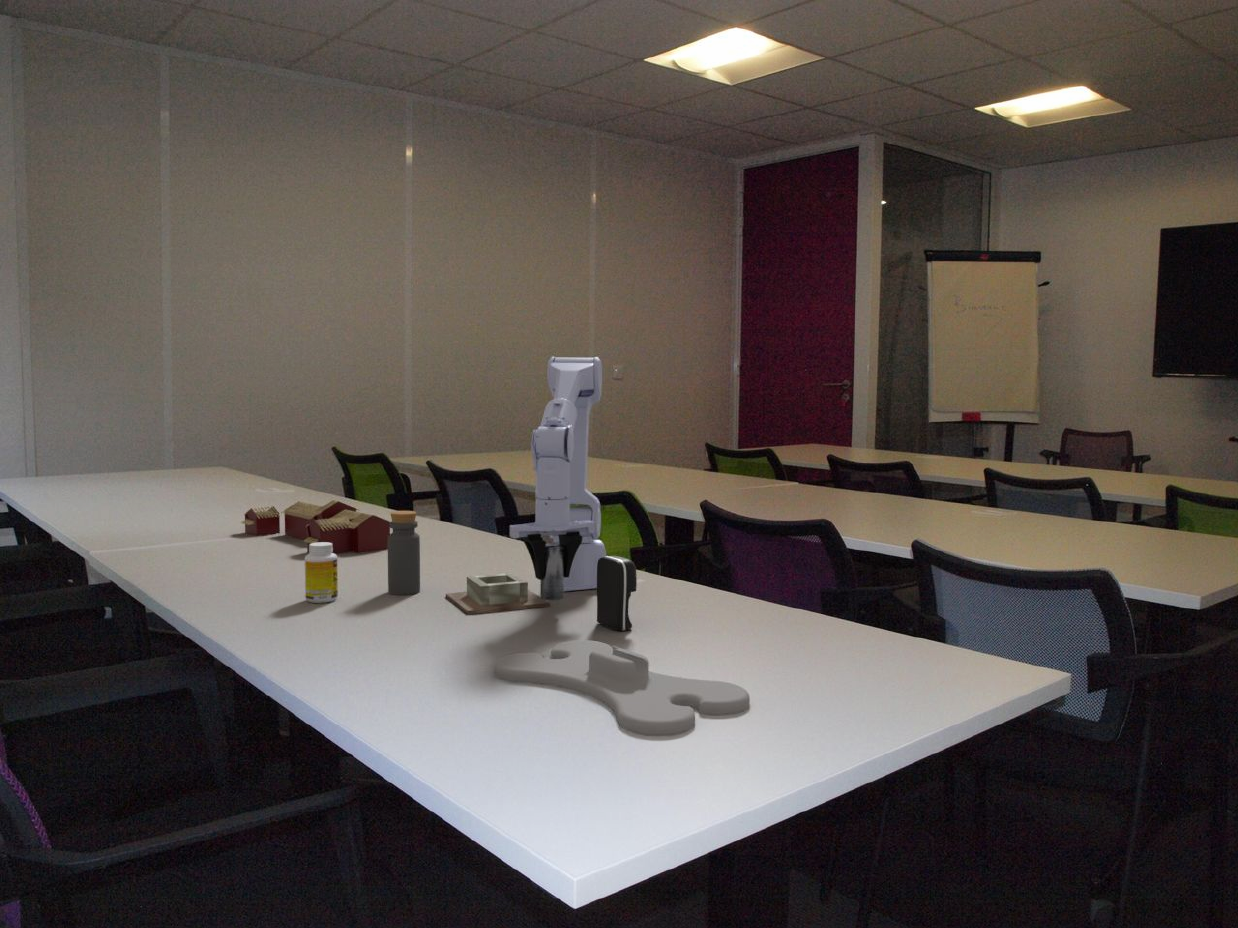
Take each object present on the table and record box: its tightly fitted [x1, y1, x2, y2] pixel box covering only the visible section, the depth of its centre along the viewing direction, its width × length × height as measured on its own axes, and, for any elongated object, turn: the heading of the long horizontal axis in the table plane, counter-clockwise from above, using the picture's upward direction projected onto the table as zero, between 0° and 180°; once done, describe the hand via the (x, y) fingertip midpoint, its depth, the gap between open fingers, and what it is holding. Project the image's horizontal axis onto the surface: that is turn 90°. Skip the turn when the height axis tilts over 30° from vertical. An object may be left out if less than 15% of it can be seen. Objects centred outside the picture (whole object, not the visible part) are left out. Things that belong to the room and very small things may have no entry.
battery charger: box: [596, 555, 638, 632], centre depth 153 cm, size 7×4×11 cm, turn 36°
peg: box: [539, 542, 565, 601], centre depth 160 cm, size 4×4×9 cm
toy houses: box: [240, 500, 391, 555], centre depth 231 cm, size 45×20×10 cm, turn 46°
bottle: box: [387, 510, 421, 596], centre depth 176 cm, size 6×6×15 cm
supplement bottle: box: [304, 542, 339, 604], centre depth 169 cm, size 6×6×10 cm
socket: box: [445, 572, 551, 615], centre depth 170 cm, size 15×14×4 cm
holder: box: [493, 639, 751, 737], centre depth 124 cm, size 19×34×5 cm, turn 43°
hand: (552, 577), depth 160 cm, fingers closed on peg, 4 cm apart
